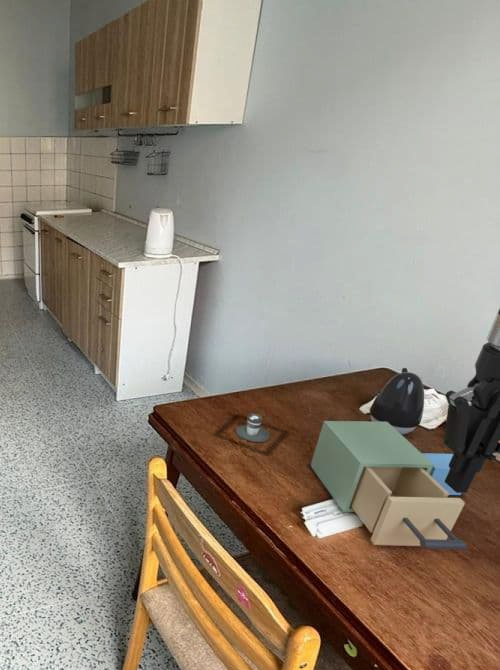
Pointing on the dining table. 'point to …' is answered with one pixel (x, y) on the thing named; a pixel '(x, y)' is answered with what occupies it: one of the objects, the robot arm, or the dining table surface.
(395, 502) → the drawer
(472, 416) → the robot arm
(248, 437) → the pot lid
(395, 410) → the black bell
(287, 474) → the dining table surface
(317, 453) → the cabinet
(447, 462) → the blue cuboid
